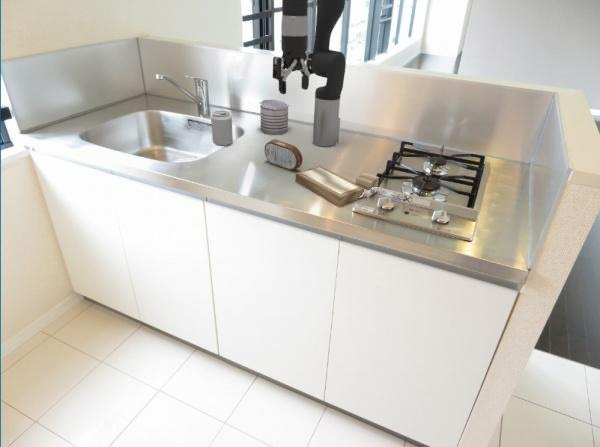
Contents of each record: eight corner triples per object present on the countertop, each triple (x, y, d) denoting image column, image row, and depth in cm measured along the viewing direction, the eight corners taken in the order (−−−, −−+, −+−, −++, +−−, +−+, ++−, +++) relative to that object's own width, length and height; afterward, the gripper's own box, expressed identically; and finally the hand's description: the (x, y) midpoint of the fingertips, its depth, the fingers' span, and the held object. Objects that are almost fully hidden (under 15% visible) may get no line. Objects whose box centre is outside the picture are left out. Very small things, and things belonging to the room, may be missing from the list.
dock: (319, 174, 137) (319, 165, 135) (363, 197, 124) (364, 187, 122) (295, 181, 131) (295, 172, 130) (339, 206, 118) (339, 196, 116)
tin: (302, 171, 138) (303, 147, 134) (296, 174, 136) (297, 149, 132) (269, 159, 146) (269, 136, 142) (263, 161, 144) (262, 138, 140)
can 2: (280, 126, 178) (280, 98, 171) (293, 134, 169) (294, 105, 163) (255, 130, 172) (255, 100, 166) (268, 138, 164) (267, 108, 158)
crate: (362, 187, 130) (364, 172, 127) (376, 192, 127) (379, 177, 124) (354, 192, 126) (356, 177, 124) (368, 197, 124) (370, 182, 121)
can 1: (229, 148, 154) (227, 116, 148) (209, 145, 155) (207, 114, 149) (235, 141, 160) (234, 110, 154) (217, 139, 161) (215, 108, 155)
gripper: (304, 29, 123) (303, 85, 132) (266, 33, 115) (267, 92, 124) (322, 32, 119) (319, 90, 127) (283, 36, 111) (283, 98, 119)
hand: (293, 91), depth 126 cm, fingers open, 8 cm apart
